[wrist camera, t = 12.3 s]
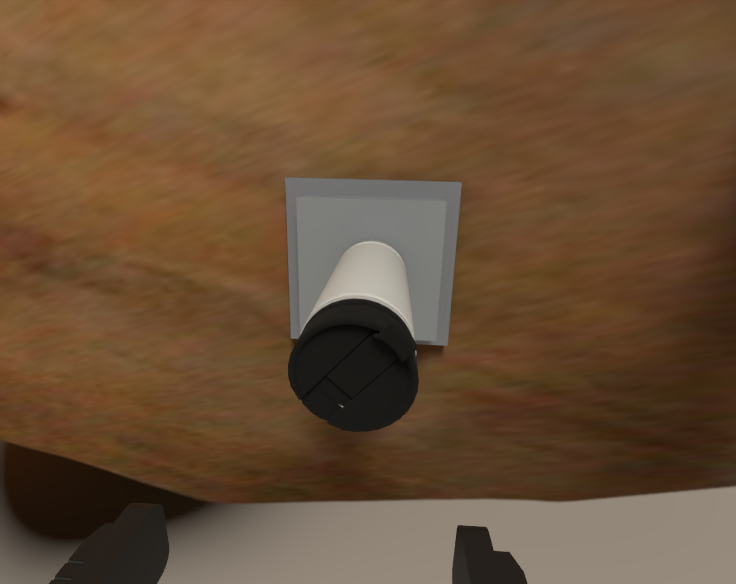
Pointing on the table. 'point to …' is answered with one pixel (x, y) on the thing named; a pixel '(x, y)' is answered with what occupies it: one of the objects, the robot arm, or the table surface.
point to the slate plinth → (380, 222)
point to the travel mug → (359, 343)
